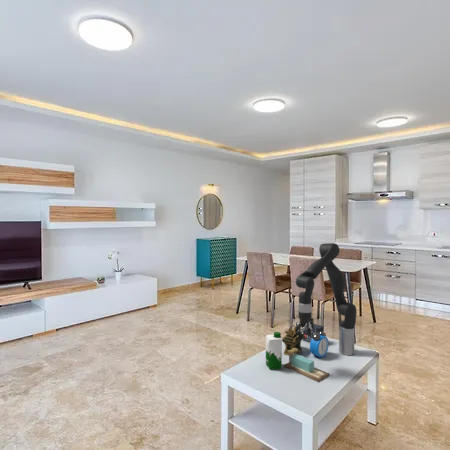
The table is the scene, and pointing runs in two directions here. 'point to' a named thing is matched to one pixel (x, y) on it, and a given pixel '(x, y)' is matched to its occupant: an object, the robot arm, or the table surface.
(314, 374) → the board
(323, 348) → the alarm clock
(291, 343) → the decorative box
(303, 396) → the table surface
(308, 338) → the small box
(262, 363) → the table surface
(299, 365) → the teal rectangular prism
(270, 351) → the milk carton
